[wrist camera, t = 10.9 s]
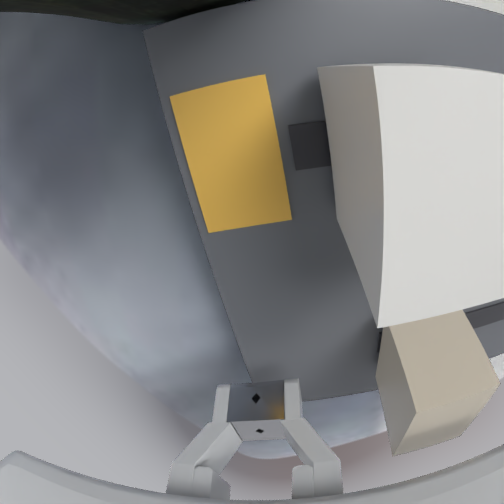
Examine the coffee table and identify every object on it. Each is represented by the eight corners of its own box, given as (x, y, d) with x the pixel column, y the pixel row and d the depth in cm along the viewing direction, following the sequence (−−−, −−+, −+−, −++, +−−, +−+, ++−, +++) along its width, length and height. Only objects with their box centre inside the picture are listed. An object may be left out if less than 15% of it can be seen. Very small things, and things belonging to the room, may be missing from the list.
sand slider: (455, 298, 10) (500, 383, 6) (435, 362, 12) (460, 436, 8) (384, 314, 10) (416, 412, 7) (375, 376, 12) (392, 456, 9)
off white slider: (430, 64, 6) (544, 83, 2) (434, 205, 8) (510, 295, 4) (317, 67, 6) (373, 65, 3) (336, 218, 8) (376, 328, 5)
